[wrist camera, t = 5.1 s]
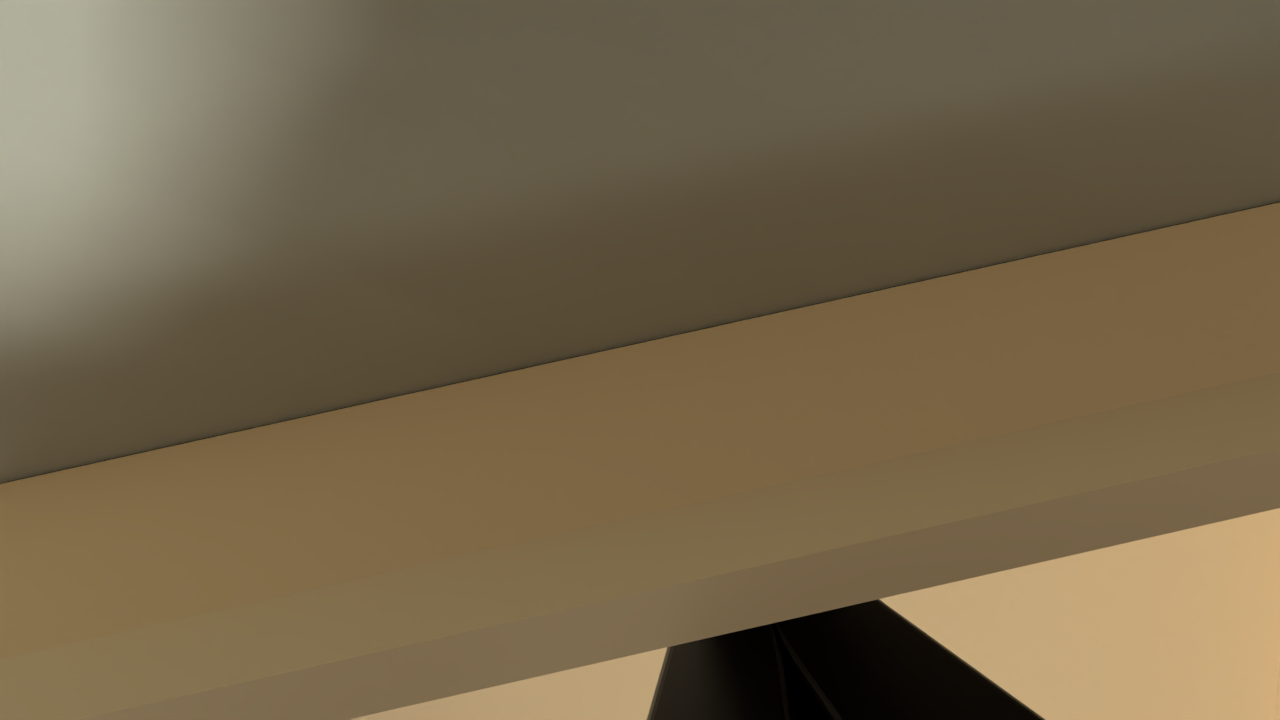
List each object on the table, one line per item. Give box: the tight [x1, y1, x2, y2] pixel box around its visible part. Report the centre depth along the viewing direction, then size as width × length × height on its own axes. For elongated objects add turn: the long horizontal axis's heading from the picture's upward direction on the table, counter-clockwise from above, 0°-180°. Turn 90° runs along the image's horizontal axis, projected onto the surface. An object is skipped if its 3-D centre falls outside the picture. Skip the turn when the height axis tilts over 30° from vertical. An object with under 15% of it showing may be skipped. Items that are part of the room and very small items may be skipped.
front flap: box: [0, 372, 1280, 720], centre depth 8 cm, size 15×1×4 cm
